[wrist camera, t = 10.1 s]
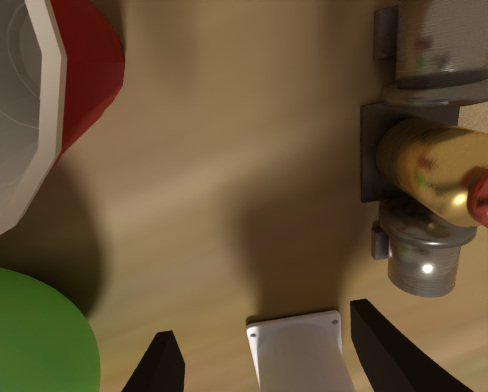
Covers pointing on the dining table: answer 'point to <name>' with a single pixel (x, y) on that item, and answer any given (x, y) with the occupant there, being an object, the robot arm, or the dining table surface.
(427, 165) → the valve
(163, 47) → the dining table surface
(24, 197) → the plastic cup
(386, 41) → the grey metal fittings
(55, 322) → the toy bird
